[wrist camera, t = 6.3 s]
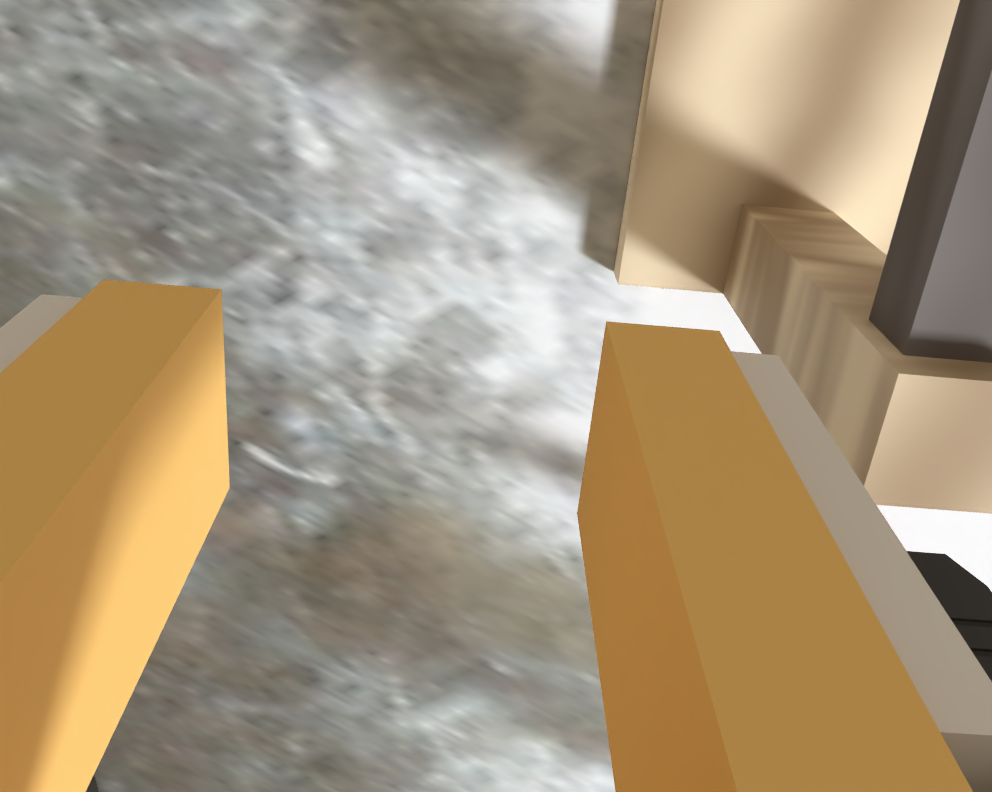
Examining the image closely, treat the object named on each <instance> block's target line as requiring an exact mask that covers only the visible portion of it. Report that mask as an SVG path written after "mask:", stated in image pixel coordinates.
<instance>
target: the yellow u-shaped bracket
mask: <svg viewBox="0 0 992 792" xmlns="http://www.w3.org/2000/svg"><path fill="white" fill-rule="evenodd" d="M229 488H230V485H229V461H228V436H227V412H226V387H225V363H224V339H223V314H222V290H221V289H210V288H198V287H186V286H175V285H163V284H151V283H139V282H127V281H115V280H103V281H101V282H100V283H99V284H98V285H97V286H96V287H95V288H94V289H93V290H92V291H90V292H89V293H88V294H87V295H86V296H85V297H84V298H83V299H82V300H80V301H79V302H78V303H77V304H76V305H75V306H74V307H73V308H72V309H71V310H69V311H68V312H67V313H66V314H65V315H64V316H63V317H62V318H61V319H59V320H58V321H57V322H56V323H55V324H54V325H53V326H52V327H51V328H50V329H48V330H47V331H46V332H45V333H44V334H43V335H42V336H41V337H40V338H38V339H37V340H36V341H35V342H34V343H33V344H32V345H31V346H30V347H29V348H27V349H26V350H25V351H24V352H23V353H22V354H21V355H20V356H19V357H17V358H16V359H15V360H14V361H13V362H12V363H11V364H10V365H9V366H8V367H6V368H5V369H4V370H3V371H2V372H1V373H0V792H86V790H87V788H88V786H89V784H90V781H91V779H92V777H93V775H94V773H95V771H96V769H97V767H98V764H99V762H100V760H101V758H102V756H103V754H104V752H105V750H106V748H107V745H108V743H109V741H110V739H111V737H112V735H113V733H114V731H115V729H116V726H117V724H118V722H119V720H120V718H121V716H122V714H123V712H124V710H125V707H126V705H127V703H128V701H129V699H130V697H131V695H132V693H133V691H134V688H135V686H136V684H137V682H138V680H139V678H140V676H141V674H142V671H143V669H144V667H145V665H146V663H147V661H148V659H149V657H150V655H151V652H152V650H153V648H154V646H155V644H156V642H157V640H158V638H159V636H160V633H161V631H162V629H163V627H164V625H165V623H166V621H167V619H168V617H169V614H170V612H171V610H172V608H173V606H174V604H175V602H176V600H177V598H178V595H179V593H180V591H181V589H182V587H183V585H184V583H185V581H186V578H187V576H188V574H189V572H190V570H191V568H192V566H193V564H194V562H195V559H196V557H197V555H198V553H199V551H200V549H201V547H202V545H203V543H204V540H205V538H206V536H207V534H208V532H209V530H210V528H211V526H212V524H213V521H214V519H215V517H216V515H217V513H218V511H219V509H220V507H221V504H222V502H223V500H224V498H225V496H226V494H227V492H228V490H229ZM577 515H578V523H579V530H580V537H581V544H582V551H583V559H584V566H585V573H586V580H587V588H588V595H589V602H590V609H591V616H592V624H593V631H594V638H595V645H596V653H597V660H598V667H599V674H600V682H601V689H602V696H603V703H604V710H605V718H606V725H607V732H608V739H609V747H610V754H611V761H612V768H613V775H614V783H615V790H616V792H973V791H972V789H971V787H970V785H969V784H968V782H967V780H966V778H965V776H964V774H963V773H962V771H961V769H960V767H959V765H958V764H957V762H956V760H955V758H954V756H953V754H952V753H951V751H950V749H949V747H948V745H947V744H946V742H945V740H944V738H943V736H942V735H941V733H940V731H939V729H938V727H937V725H936V724H935V722H934V720H933V718H932V716H931V715H930V713H929V711H928V709H927V707H926V705H925V704H924V702H923V700H922V698H921V696H920V695H919V693H918V691H917V689H916V687H915V685H914V684H913V682H912V680H911V678H910V676H909V675H908V673H907V671H906V669H905V667H904V665H903V664H902V662H901V660H900V658H899V656H898V655H897V653H896V651H895V649H894V647H893V645H892V644H891V642H890V640H889V638H888V636H887V635H886V633H885V631H884V629H883V627H882V625H881V624H880V622H879V620H878V618H877V616H876V615H875V613H874V611H873V609H872V607H871V606H870V604H869V602H868V600H867V598H866V596H865V595H864V593H863V591H862V589H861V587H860V586H859V584H858V582H857V580H856V578H855V576H854V575H853V573H852V571H851V569H850V567H849V566H848V564H847V562H846V560H845V558H844V556H843V555H842V553H841V551H840V549H839V547H838V546H837V544H836V542H835V540H834V538H833V536H832V535H831V533H830V531H829V529H828V527H827V526H826V524H825V522H824V520H823V518H822V516H821V515H820V513H819V511H818V509H817V507H816V506H815V504H814V502H813V500H812V498H811V497H810V495H809V493H808V491H807V489H806V487H805V486H804V484H803V482H802V480H801V478H800V477H799V475H798V473H797V471H796V469H795V467H794V466H793V464H792V462H791V460H790V458H789V457H788V455H787V453H786V451H785V449H784V447H783V446H782V444H781V442H780V440H779V438H778V437H777V435H776V433H775V431H774V429H773V427H772V426H771V424H770V422H769V420H768V418H767V417H766V415H765V413H764V411H763V409H762V407H761V406H760V404H759V402H758V400H757V398H756V397H755V395H754V393H753V391H752V389H751V388H750V386H749V384H748V382H747V380H746V378H745V377H744V375H743V373H742V371H741V369H740V368H739V366H738V364H737V362H736V360H735V358H734V357H733V355H732V353H731V351H730V349H729V348H728V346H727V344H726V342H725V340H724V338H723V337H722V335H721V333H720V331H713V330H701V329H689V328H677V327H665V326H653V325H641V324H629V323H617V322H606V327H605V334H604V340H603V347H602V354H601V360H600V367H599V373H598V380H597V387H596V393H595V400H594V406H593V413H592V420H591V426H590V433H589V439H588V446H587V453H586V459H585V466H584V472H583V479H582V486H581V492H580V499H579V505H578V512H577Z"/></svg>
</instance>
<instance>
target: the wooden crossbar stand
mask: <svg viewBox="0 0 992 792" xmlns="http://www.w3.org/2000/svg"><path fill="white" fill-rule="evenodd" d="M614 274H615V277H616V280H617V282H618V284H623V285H635V286H646V287H657V288H669V289H680V290H691V291H703V292H714V293H723V294H724V296H725V297H726V299H727V300H728V302H729V303H730V305H731V307H732V308H733V310H734V311H735V313H736V314H737V316H738V317H739V319H740V320H741V322H742V324H743V325H744V327H745V328H746V330H747V331H748V333H749V334H750V336H751V337H752V339H753V341H754V342H755V344H756V345H757V347H758V348H759V350H760V351H761V353H762V354H767V355H778V356H779V357H780V359H781V360H782V362H783V363H784V365H785V366H786V368H787V369H788V371H789V373H790V374H791V376H792V377H793V379H794V380H795V382H796V383H797V385H798V386H799V388H800V389H801V391H802V392H803V394H804V395H805V397H806V399H807V400H808V402H809V403H810V405H811V406H812V408H813V409H814V411H815V412H816V414H817V415H818V417H819V418H820V420H821V421H822V423H823V425H824V426H825V428H826V429H827V431H828V432H829V434H830V435H831V437H832V438H833V440H834V441H835V443H836V444H837V446H838V447H839V449H840V451H841V452H842V454H843V455H844V457H845V458H846V460H847V461H848V463H849V464H850V466H851V467H852V469H853V470H854V472H855V473H856V475H857V477H858V478H859V480H860V481H861V483H862V484H863V486H864V487H865V489H866V490H867V492H868V493H869V495H870V496H871V498H872V500H873V501H874V503H875V504H876V505H889V506H902V507H914V508H927V509H940V510H953V511H966V512H979V513H991V514H992V0H656V6H655V12H654V18H653V25H652V31H651V38H650V44H649V50H648V57H647V63H646V70H645V76H644V82H643V89H642V95H641V101H640V108H639V114H638V121H637V127H636V133H635V140H634V146H633V153H632V159H631V165H630V172H629V178H628V184H627V191H626V197H625V204H624V210H623V216H622V223H621V229H620V236H619V242H618V248H617V255H616V261H615V267H614Z"/></svg>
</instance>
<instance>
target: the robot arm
mask: <svg viewBox="0 0 992 792" xmlns="http://www.w3.org/2000/svg"><path fill="white" fill-rule="evenodd" d="M82 299H83V298H79V297H67V296H54V295H40V296H39V297H38V298H37V299H35V300H34V301H33V302H32V303H31V304H29V305H28V306H27V307H26V308H24V309H23V310H22V311H21V312H19V313H18V314H17V315H16V316H15V317H13V318H12V319H11V320H10V321H8V322H7V323H6V324H5V325H4V326H2V327H1V328H0V373H1V372H2V371H3V370H4V369H5V368H6V367H8V366H9V365H10V364H11V363H12V362H13V361H14V360H15V359H16V358H17V357H19V356H20V355H21V354H22V353H23V352H24V351H25V350H26V349H27V348H29V347H30V346H31V345H32V344H33V343H34V342H35V341H36V340H37V339H38V338H40V337H41V336H42V335H43V334H44V333H45V332H46V331H47V330H48V329H50V328H51V327H52V326H53V325H54V324H55V323H56V322H57V321H58V320H59V319H61V318H62V317H63V316H64V315H65V314H66V313H67V312H68V311H69V310H71V309H72V308H73V307H74V306H75V305H76V304H77V303H78V302H79V301H80V300H82ZM731 353H732V355H733V357H734V358H735V360H736V362H737V364H738V366H739V368H740V369H741V371H742V373H743V375H744V377H745V378H746V380H747V382H748V384H749V386H750V388H751V389H752V391H753V393H754V395H755V397H756V398H757V400H758V402H759V404H760V406H761V407H762V409H763V411H764V413H765V415H766V417H767V418H768V420H769V422H770V424H771V426H772V427H773V429H774V431H775V433H776V435H777V437H778V438H779V440H780V442H781V444H782V446H783V447H784V449H785V451H786V453H787V455H788V457H789V458H790V460H791V462H792V464H793V466H794V467H795V469H796V471H797V473H798V475H799V477H800V478H801V480H802V482H803V484H804V486H805V487H806V489H807V491H808V493H809V495H810V497H811V498H812V500H813V502H814V504H815V506H816V507H817V509H818V511H819V513H820V515H821V516H822V518H823V520H824V522H825V524H826V526H827V527H828V529H829V531H830V533H831V535H832V536H833V538H834V540H835V542H836V544H837V546H838V547H839V549H840V551H841V553H842V555H843V556H844V558H845V560H846V562H847V564H848V566H849V567H850V569H851V571H852V573H853V575H854V576H855V578H856V580H857V582H858V584H859V586H860V587H861V589H862V591H863V593H864V595H865V596H866V598H867V600H868V602H869V604H870V606H871V607H872V609H873V611H874V613H875V615H876V616H877V618H878V620H879V622H880V624H881V625H882V627H883V629H884V631H885V633H886V635H887V636H888V638H889V640H890V642H891V644H892V645H893V647H894V649H895V651H896V653H897V655H898V656H899V658H900V660H901V662H902V664H903V665H904V667H905V669H906V671H907V673H908V675H909V676H910V678H911V680H912V682H913V684H914V685H915V687H916V689H917V691H918V693H919V695H920V696H921V698H922V700H923V702H924V704H925V705H926V707H927V709H928V711H929V713H930V715H931V716H932V718H933V720H934V722H935V724H936V725H937V727H938V729H939V731H940V733H941V735H942V736H943V738H944V740H945V742H946V744H947V745H948V747H949V749H950V751H951V753H952V754H953V756H954V758H955V760H956V762H957V764H958V765H959V767H960V769H961V771H962V773H963V774H964V776H965V778H966V780H967V782H968V784H969V785H970V787H971V789H972V791H973V792H992V592H991V591H990V589H989V588H988V587H987V586H986V585H985V584H984V583H982V582H981V581H980V580H978V579H977V578H976V577H974V576H973V575H972V574H971V573H969V572H968V571H967V570H965V569H964V568H963V567H961V566H960V565H959V564H957V563H956V562H955V561H954V560H952V559H951V558H950V557H948V556H947V555H946V554H936V553H923V552H910V551H906V550H905V548H904V547H903V545H902V544H901V542H900V541H899V539H898V538H897V536H896V535H895V533H894V532H893V530H892V529H891V527H890V526H889V524H888V522H887V521H886V519H885V518H884V516H883V515H882V513H881V512H880V510H879V509H878V507H877V506H876V504H875V503H874V501H873V500H872V498H871V496H870V495H869V493H868V492H867V490H866V489H865V487H864V486H863V484H862V483H861V481H860V480H859V478H858V477H857V475H856V473H855V472H854V470H853V469H852V467H851V466H850V464H849V463H848V461H847V460H846V458H845V457H844V455H843V454H842V452H841V451H840V449H839V447H838V446H837V444H836V443H835V441H834V440H833V438H832V437H831V435H830V434H829V432H828V431H827V429H826V428H825V426H824V425H823V423H822V421H821V420H820V418H819V417H818V415H817V414H816V412H815V411H814V409H813V408H812V406H811V405H810V403H809V402H808V400H807V399H806V397H805V395H804V394H803V392H802V391H801V389H800V388H799V386H798V385H797V383H796V382H795V380H794V379H793V377H792V376H791V374H790V373H789V371H788V369H787V368H786V366H785V365H784V363H783V362H782V360H781V359H780V357H779V356H778V355H767V354H755V353H743V352H731ZM86 792H98V788H97V784H96V781H95V777H94V775H93V777H92V779H91V781H90V784H89V786H88V788H87V790H86Z"/></svg>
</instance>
